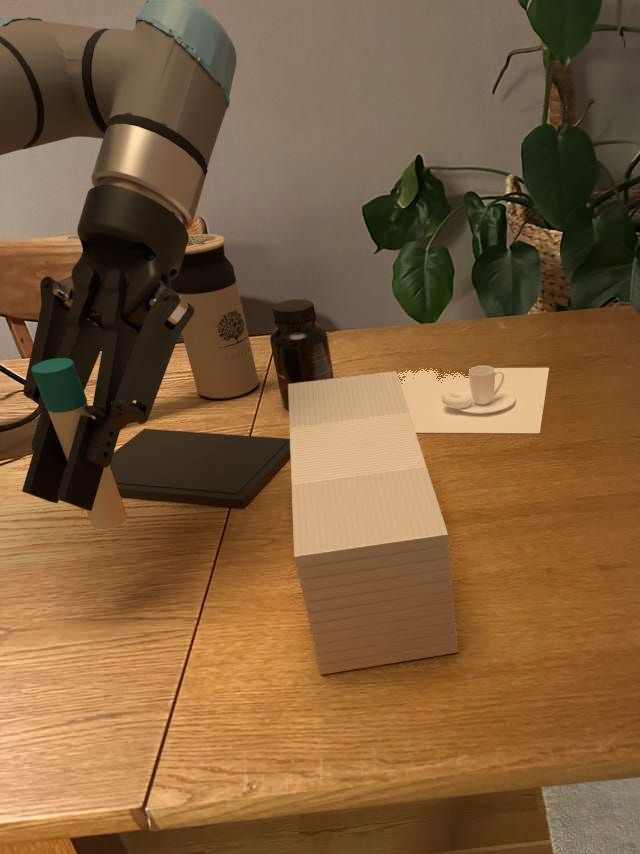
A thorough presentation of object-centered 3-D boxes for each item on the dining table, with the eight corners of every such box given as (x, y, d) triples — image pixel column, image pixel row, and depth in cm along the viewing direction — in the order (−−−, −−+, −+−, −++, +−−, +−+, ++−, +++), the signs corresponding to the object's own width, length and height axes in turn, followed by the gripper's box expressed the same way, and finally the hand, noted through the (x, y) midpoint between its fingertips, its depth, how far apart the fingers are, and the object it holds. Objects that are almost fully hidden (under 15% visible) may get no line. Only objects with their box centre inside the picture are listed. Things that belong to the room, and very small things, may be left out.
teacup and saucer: (439, 416, 100) (436, 383, 97) (449, 390, 106) (446, 358, 103) (512, 417, 99) (511, 383, 96) (518, 390, 105) (517, 358, 102)
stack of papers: (458, 652, 65) (448, 533, 58) (320, 675, 64) (293, 556, 57) (407, 469, 90) (396, 370, 83) (307, 482, 88) (287, 383, 82)
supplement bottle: (272, 409, 104) (250, 311, 96) (303, 389, 109) (285, 293, 101) (317, 417, 101) (299, 316, 94) (348, 396, 106) (333, 298, 99)
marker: (84, 528, 68) (22, 371, 60) (105, 510, 70) (47, 356, 62) (115, 531, 67) (56, 373, 59) (135, 513, 69) (81, 358, 61)
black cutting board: (75, 492, 89) (71, 483, 89) (146, 436, 100) (144, 427, 99) (244, 508, 85) (241, 498, 84) (300, 447, 95) (299, 438, 95)
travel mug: (187, 389, 111) (146, 243, 100) (241, 372, 115) (208, 229, 103) (215, 405, 106) (175, 254, 95) (270, 387, 110) (238, 239, 98)
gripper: (253, 244, 66) (172, 532, 64) (98, 233, 71) (21, 499, 70) (192, 182, 58) (100, 504, 57) (26, 175, 64) (-62, 469, 62)
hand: (57, 500), depth 63 cm, fingers closed on marker, 3 cm apart
